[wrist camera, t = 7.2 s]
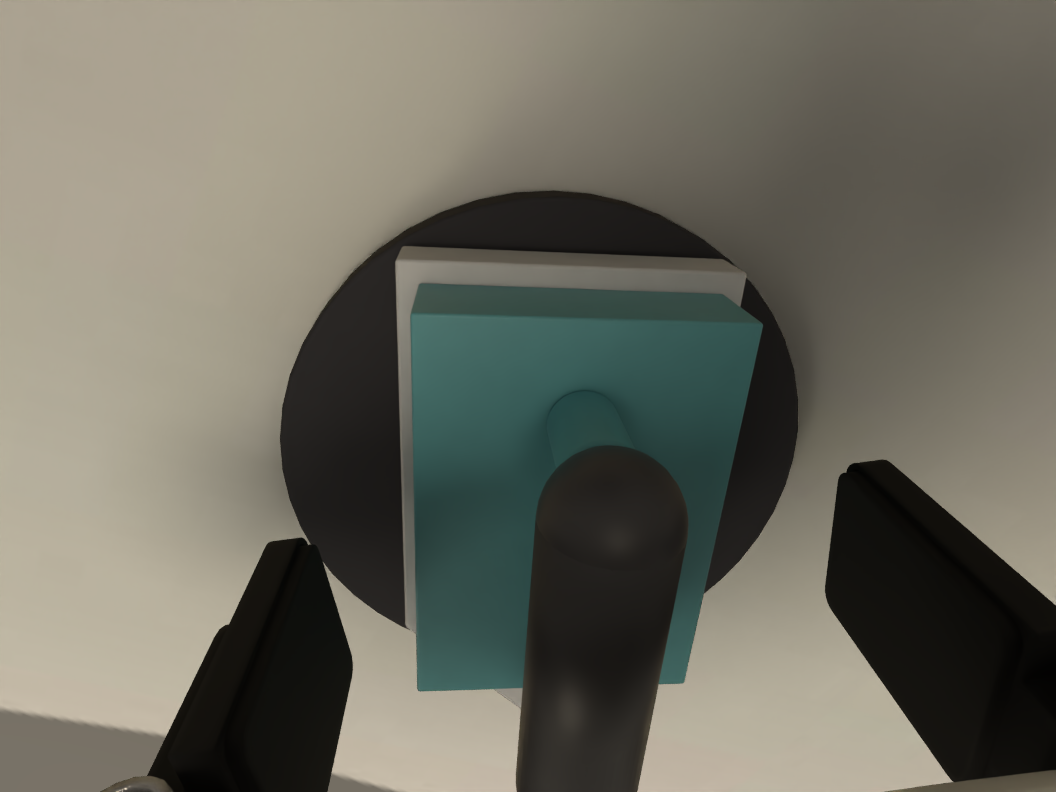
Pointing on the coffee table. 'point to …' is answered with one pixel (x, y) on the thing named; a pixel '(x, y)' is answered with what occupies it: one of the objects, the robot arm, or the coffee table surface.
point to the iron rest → (373, 388)
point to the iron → (565, 484)
